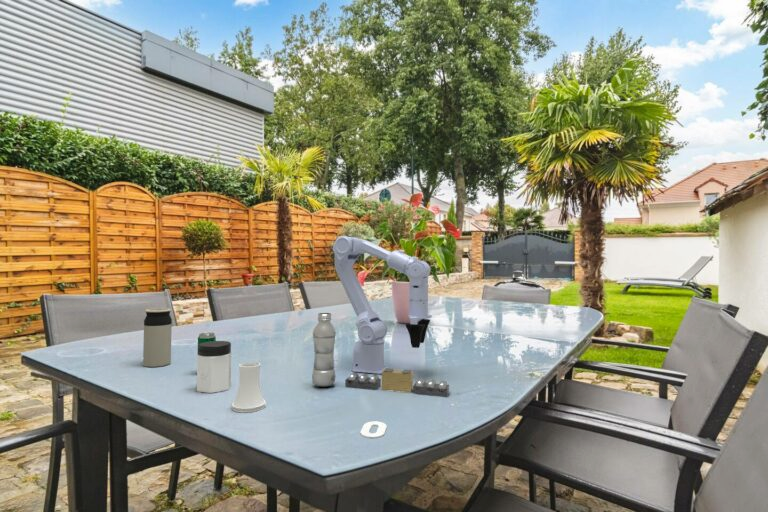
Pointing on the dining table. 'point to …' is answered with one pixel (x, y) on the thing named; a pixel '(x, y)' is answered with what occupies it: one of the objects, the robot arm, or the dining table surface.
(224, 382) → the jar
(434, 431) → the dining table surface
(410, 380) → the gold block
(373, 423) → the chain link
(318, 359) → the plastic bottle
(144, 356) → the travel mug
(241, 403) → the vase
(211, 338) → the soda can
